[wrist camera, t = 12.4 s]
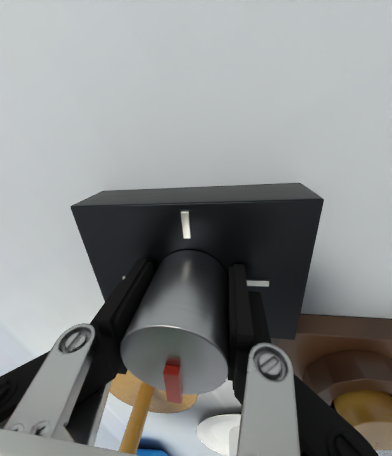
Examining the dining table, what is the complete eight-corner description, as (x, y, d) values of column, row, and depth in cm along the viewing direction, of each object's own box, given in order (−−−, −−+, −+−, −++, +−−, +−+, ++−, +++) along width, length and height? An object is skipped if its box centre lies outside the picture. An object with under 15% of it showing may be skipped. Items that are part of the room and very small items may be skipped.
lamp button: (402, 390, 12) (427, 427, 11) (383, 418, 14) (403, 454, 12) (339, 383, 13) (355, 418, 11) (328, 411, 15) (340, 444, 13)
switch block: (442, 321, 14) (507, 378, 10) (395, 393, 17) (432, 450, 14) (274, 312, 15) (286, 358, 12) (265, 379, 19) (273, 427, 16)
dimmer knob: (153, 247, 10) (103, 327, 6) (230, 251, 10) (233, 342, 6) (160, 303, 12) (125, 396, 8) (226, 309, 12) (226, 412, 7)
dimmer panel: (300, 182, 11) (326, 200, 8) (282, 303, 15) (295, 343, 12) (102, 190, 13) (67, 207, 10) (131, 295, 17) (112, 329, 14)
